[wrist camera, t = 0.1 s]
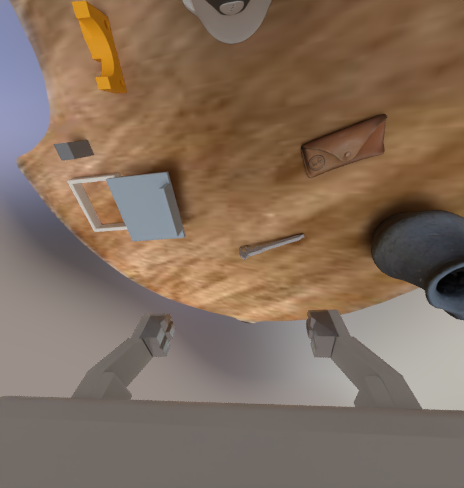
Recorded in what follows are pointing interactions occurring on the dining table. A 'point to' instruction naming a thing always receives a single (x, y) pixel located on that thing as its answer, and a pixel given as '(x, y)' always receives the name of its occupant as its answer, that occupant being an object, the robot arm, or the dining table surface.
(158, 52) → the dining table surface
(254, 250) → the caliper
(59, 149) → the dark grey block
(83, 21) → the pipe clamp
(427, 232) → the pitcher
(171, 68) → the dining table surface
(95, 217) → the frame
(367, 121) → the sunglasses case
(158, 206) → the lid
